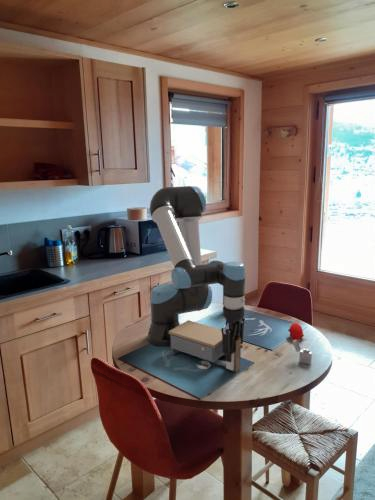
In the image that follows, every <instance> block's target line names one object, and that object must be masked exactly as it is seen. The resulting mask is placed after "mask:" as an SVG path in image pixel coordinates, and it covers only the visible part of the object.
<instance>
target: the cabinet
mask: <svg viewBox="0 0 375 500" xmlns="http://www.w3.org/2000/svg"><path fill="white" fill-rule="evenodd" d="M221 329H222V328H221ZM221 329H220V328H217V327H214V326H211V325H207V324H204V323H203V324H202V323H199V322H195V321H191V320H189V319H188V320H186V321H185V322H183V323H181V324H180V325H179V326H177V327H175V328H174V329H172V330H170V331H169V334H171V345H170V355H172V356H174V355H176V354H177V353H179V352H181V353H185V354H189V355H190V356H194V357H197V358H199V359H200V358H203V359H206V360H209V361H212V362H215V361H216V360H217V359H219V360H220V358H221V357H222V356H224V357H226V354H225V353H223V346H222V332H221ZM203 359H202V360H203ZM206 360H205V361H206ZM209 361H208V362H209ZM212 362H211V363H212Z"/></svg>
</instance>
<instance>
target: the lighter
mask: <svg viewBox="0 0 375 500" xmlns="http://www.w3.org/2000/svg"><path fill="white" fill-rule="evenodd" d="M292 345H293V347H294V349H295V352H299V361H298V362H299V363H302V364H305V365H311V364H312V358H313V352H312V351H310V350H309V349H308V348H305V347H304V348H303V349H302V348H301V346H300V343H299V340H298V341H297V340H292Z"/></svg>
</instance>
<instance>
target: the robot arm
mask: <svg viewBox="0 0 375 500" xmlns="http://www.w3.org/2000/svg"><path fill="white" fill-rule="evenodd" d="M206 200H207V199H206V196H205V194H204V191H203V189H201V188H200V187H199V186H194V185H193V186H191V185H188V186H187V185H185V186H165V187H163V188H160V189H158V190H157V191H156V192H155V194H154V195H153V196H152V198H151V199H150V203H149V214H150V216H151V220H152V221H153V222H154V223H156V225H157V227H158V230H159V232H160V233H159V234H160V235H161V238H162V240H163V242H164V245H165V248H166V250H167V253H168V255H169V258H170V260H171V263H172V265H173V269H172V270H171V273H170V275H171V276H170V279H171V282H172V283H170V282H169V283H162V284H158V285H156V286H155V287H153V288H152V290H151V291H150V300H149V302H150V315H151V316H150V319H151V322H150V327H149V329H148V332H147V341H148V342H149V343H150V344H152V345H155V346H159V347H169V346H170V347H171V334H169V331H170V330H172V329H174V328H175V327H177V326H179V325H181V324H180V321H179V315H181V314H186V313H193V312H200V311H203V310H206V309H208V308H210V306H211V304H212V302H213V301H212V300H213V289H212V286H211V285H214V284H219V285H221V286H222V305H223V306H222V316H223V318H224V319H225V323H224V324H225V326H224V328H223V327H221V332H222V346H223V353H225V354H226V356H225V359H226V360H225V362H226V367H225V369H226V368H227V369H230V370H234V353H233V345H234V336H235V337H239V338H241V349H243V346H244V345H243V344H244V332H245V330H244V329H245V320H246V318H245V302H246V299H245V296H246V295H245V294H246V293H245V291H246V290H245V289H246V267H245V264H244V263H242V262H240V261H227V262H223V261H221V260H216V259H214V260H210V261H209V262H207V263H205V264H202V254H201V253H202V252H201V240H200V226H199V225H200V224H199V222H200V220H201V218H202V214H203V213H205V211H206V206H207V201H206ZM227 369H226V370H227ZM230 370H229V371H230Z"/></svg>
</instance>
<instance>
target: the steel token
mask: <svg viewBox="0 0 375 500" xmlns="http://www.w3.org/2000/svg"><path fill="white" fill-rule="evenodd" d="M196 367H197V368H198V369H199V370H202V369H203V370H204V369H205V370H208V368H209V369H210V368H211V362H209V361H206V360H201V361H199V362H197V363H196Z"/></svg>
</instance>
